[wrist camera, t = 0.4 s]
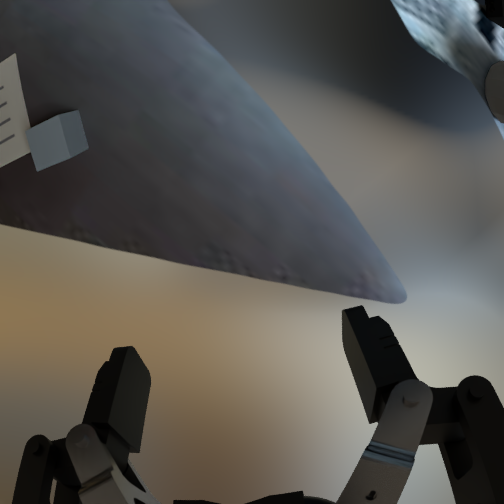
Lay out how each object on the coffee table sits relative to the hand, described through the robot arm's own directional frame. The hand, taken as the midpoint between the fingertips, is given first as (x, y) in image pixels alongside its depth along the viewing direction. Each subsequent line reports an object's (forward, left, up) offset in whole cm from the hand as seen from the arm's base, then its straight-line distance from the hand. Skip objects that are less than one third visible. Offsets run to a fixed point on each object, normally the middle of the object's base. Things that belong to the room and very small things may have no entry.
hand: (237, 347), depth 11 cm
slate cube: (-9, -19, -27) cm, 34 cm away
